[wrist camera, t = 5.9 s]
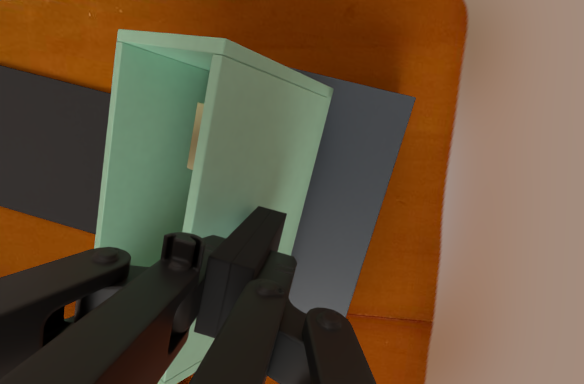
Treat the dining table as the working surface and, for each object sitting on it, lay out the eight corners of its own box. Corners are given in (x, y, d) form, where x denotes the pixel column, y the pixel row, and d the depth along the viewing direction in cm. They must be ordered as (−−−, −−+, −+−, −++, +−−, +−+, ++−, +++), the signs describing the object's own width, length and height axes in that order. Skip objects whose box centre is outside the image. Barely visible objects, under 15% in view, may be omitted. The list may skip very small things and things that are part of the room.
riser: (282, 76, 27) (267, 62, 21) (398, 104, 26) (416, 97, 20) (239, 265, 31) (217, 297, 25) (339, 294, 30) (340, 334, 24)
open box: (238, 72, 23) (117, 28, 16) (334, 88, 19) (225, 37, 12) (200, 272, 26) (87, 307, 19) (273, 324, 22) (162, 393, 15)
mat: (-62, 49, 31) (-66, 48, 31) (242, 127, 28) (241, 127, 28) (-61, 186, 34) (-64, 187, 34) (213, 267, 32) (212, 268, 31)
